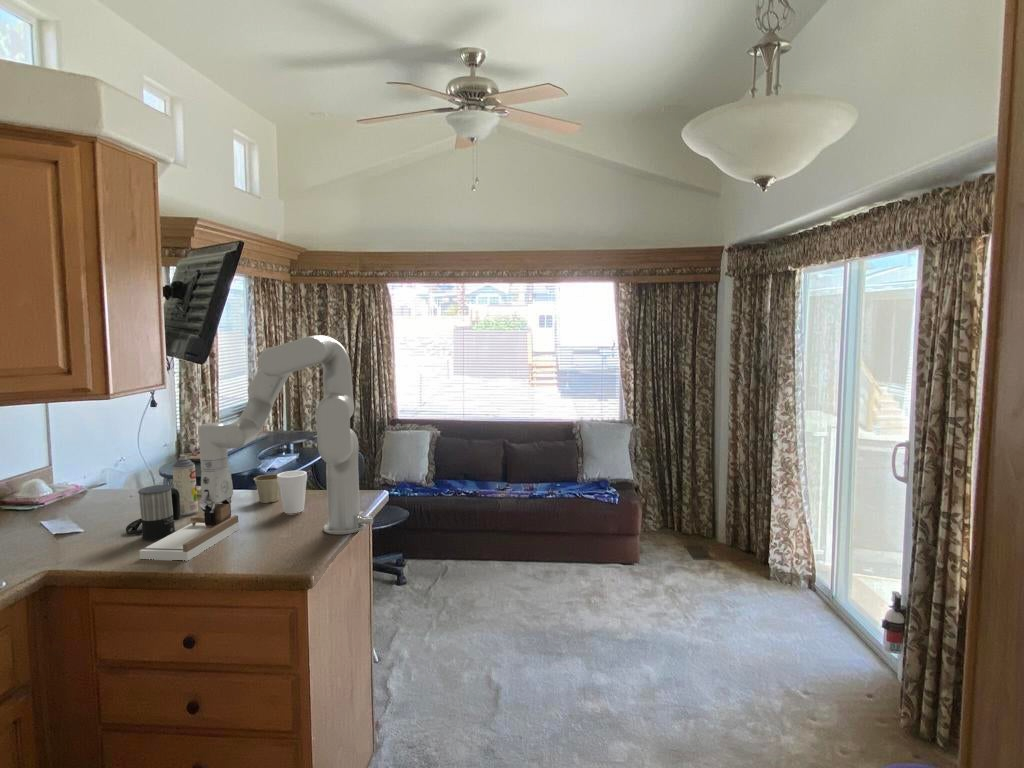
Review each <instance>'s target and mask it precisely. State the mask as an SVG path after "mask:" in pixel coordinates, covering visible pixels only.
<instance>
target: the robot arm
mask: <svg viewBox="0 0 1024 768" xmlns="http://www.w3.org/2000/svg"><path fill="white" fill-rule="evenodd" d="M350 359H351V358H350V356H349V354H348V352H347V349H345V347H344V346H343V345H342V344H341V343H340V342H339V341H338V340H336V339H334V338H333V337H331V336H330V337H329V336H327V335H323V334H316V335H315V334H314V335H309V336H305V337H301V338H298V339H295V340H292V341H288V342H285V343H283V344H278V345H275V346H270V347H268V348H266V349H264V350H263V351H261V352H260V354H259V357H258V359H257V364H258V369H257V372H256V373H254V374H255V375H254V376H253V378H252V380H251V381H250V383H249V385H248V387H247V394H248V400H247V402H246V405H245V407H244V409H243V411H242V413H241V414H240V416H239V418H238V419H237V420H236V421H234V422H232V423H229V424H224V423H223V422H207V423H202V424H201V425H199V427H198V428H197V429H198V431H197V432H198V446H199V448H198V449H199V458H200V459H199V461H200V471H201V475H200V495H201V498H200V500H199V501H198V506H200V508H201V510H202V512H203V516H204V517H205V525H209V526H214V525H216V516H215V512H214V508H215V504H230V516H231V517H232V506H231V504H232V497H233V495H234V486H233V480H232V479H233V478H232V472H231V469H230V466H229V459H228V458H229V457H228V449H240V448H243V447H245V446H246V445H247V444H249V443H250V442H252V441H254V440H255V439H256V438H257V437H258V435H259V433H260V432H261V430H262V429H263V427H264V425H265V424H266V422H267V420H268V418H269V416H270V414H271V411H272V409H273V407H274V404H275V401H276V400H277V398H278V396H279V394H280V392H281V391H282V389H283V387H284V385H285V383H286V382H287V380H288V378H289V377H290V375H291V374H292V373H293V372H297V371H301V370H304V369H307V368H310V367H314V366H318V365H320V366H321V367H322V386H323V398H321V400H320V401H319V402H318V404H317V408H316V411H315V421H316V422H315V423H316V425H315V426H316V436H317V437H316V439H317V441H316V442H317V450H318V454H319V456H320V458H321V459H322V460H323V461H324V462H325V463H326V465H325V466H326V467H325V468H326V469H325V470H326V471H325V473H326V475H325V477H326V494H327V495H326V496H327V512H328V513H327V514H328V515H327V516H328V518H327V519H328V522H327V523H325V524H324V525H323V532H325V533H326V534H329V535H336V536H337V535H348V534H349V535H350V534H354V533H358V532H361V531H362V530H364V529H365V528H366V527H367V525H373V524H374V517H372V516H371V515H366V516H365V515H364V511H361V502H360V480H359V479H360V478H359V477H360V476H359V450H360V449H359V438H358V436H357V433H356V432H355V431H354V430H353V429H352V428H351V420H350V419H351V417H352V416H353V415H354V412H355V403H354V389H353V388H354V387H353V376H352V365H351V360H350ZM209 506H211V508H210V507H209Z"/></svg>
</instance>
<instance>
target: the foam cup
mask: <svg viewBox="0 0 1024 768" xmlns="http://www.w3.org/2000/svg"><path fill="white" fill-rule="evenodd" d="M307 473H308V471H305V470H287V471H283V472H280V473H277V474H278V475H277V482H278V485H279V494H280V500H281V504H282V509H283V512H285V513H297V512H301V511H303V510H304V511H305V502H306V490H307V480H308V474H307ZM304 511H303V512H304ZM285 513H284V514H285Z"/></svg>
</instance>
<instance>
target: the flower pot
mask: <svg viewBox="0 0 1024 768" xmlns="http://www.w3.org/2000/svg"><path fill="white" fill-rule="evenodd" d="M278 474H279V473H277V474H272V473H271V474H270V473H269V474H264V475H263V474H262V475H258V476H256V477H253V481H254V483H255V485H256V490H257V493H258V494H257V495H258V499H259V502H260V503H262V504H269V503H275V502H278V501H279V494H280V490H279V485H278V482H277V475H278Z"/></svg>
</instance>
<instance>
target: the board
mask: <svg viewBox="0 0 1024 768" xmlns="http://www.w3.org/2000/svg"><path fill="white" fill-rule="evenodd" d="M239 530H240V523H239V515H238V514H237V515H231V518H229V519H227V520H225V521H224V522H222V523H220V524H218V525H216V526H215V527H213V528H206V525H205V523H196V524H195V525H193V524H192V523H191V522H190V524H188V525H185V526H184V527H181V528H180V529H178V530H175V531H176V532H174V533H172V534H170V535H168V536H166V537H165V538H163V539H161V540H156V541H155V542H153V543H151V544H149V545H147V546H146V547H144V548H142V549H139V560H140V559H149V560H148V561H172V560H183V562H189V561H191V560H192V559H194V558H195V557H197V556H199V555H201V554H202V553H204V550H205V551H207V550H208V549H210V548H211V547H213V546H214V544H215V545H216V544H218V543H220V542H221V541H223V540H224V539H226V538H228V537H229V536H231V535H233V534H234V533H236V532H237V531H239ZM235 531H236V532H235ZM227 536H228V537H227ZM219 541H220V542H219ZM209 547H210V548H209ZM206 549H207V550H206ZM193 557H194V558H193ZM150 559H152V560H150ZM153 559H154V560H153ZM184 560H185V561H184ZM188 560H189V561H188Z"/></svg>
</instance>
